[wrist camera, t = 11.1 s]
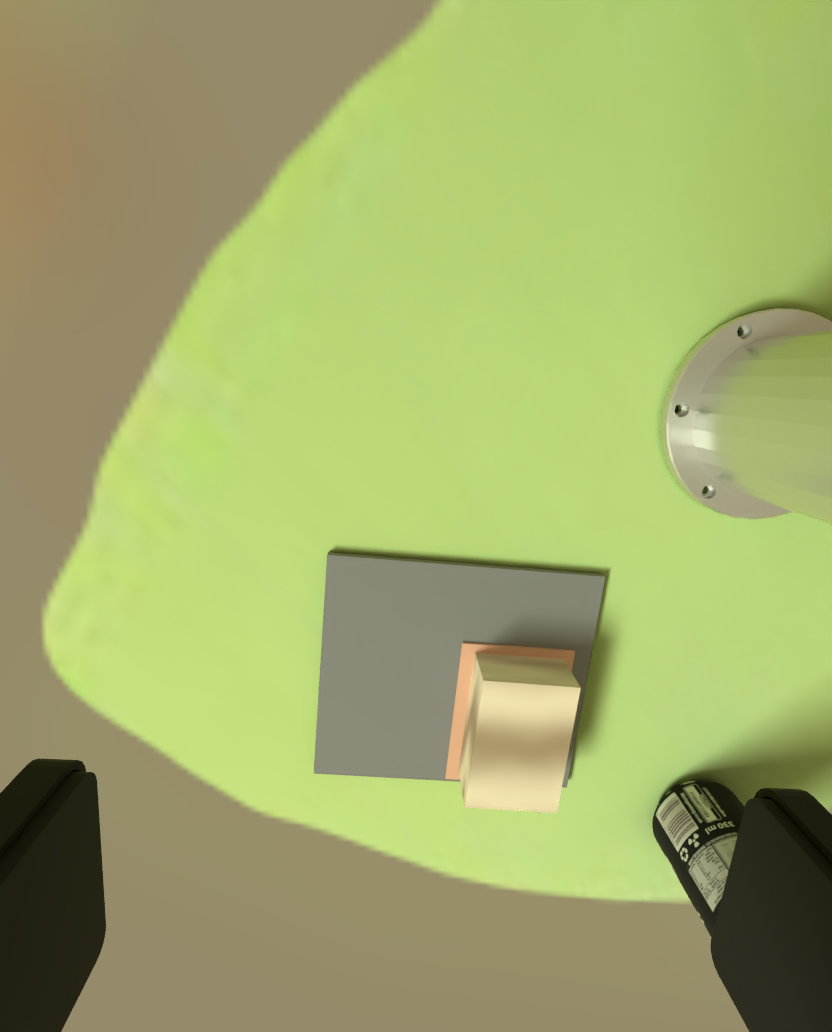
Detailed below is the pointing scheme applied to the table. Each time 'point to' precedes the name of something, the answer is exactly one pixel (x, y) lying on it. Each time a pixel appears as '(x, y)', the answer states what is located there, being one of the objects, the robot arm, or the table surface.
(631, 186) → the table surface
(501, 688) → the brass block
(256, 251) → the table surface
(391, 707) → the rubber mat
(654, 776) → the table surface
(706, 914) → the beverage can
